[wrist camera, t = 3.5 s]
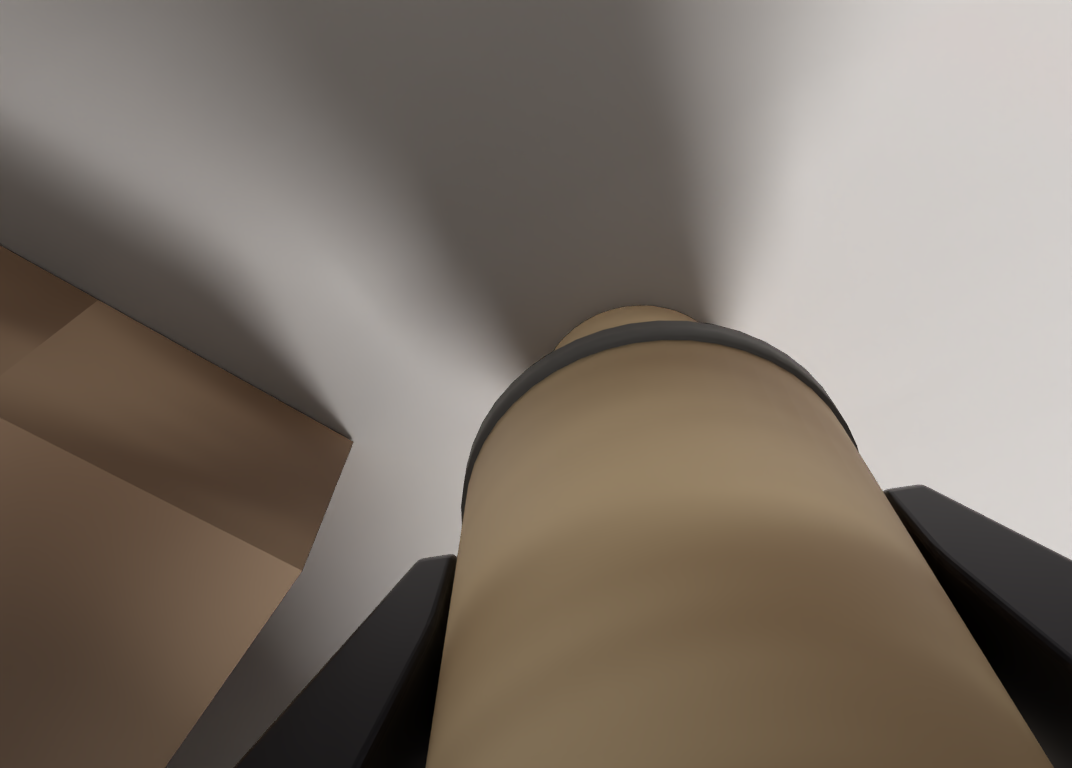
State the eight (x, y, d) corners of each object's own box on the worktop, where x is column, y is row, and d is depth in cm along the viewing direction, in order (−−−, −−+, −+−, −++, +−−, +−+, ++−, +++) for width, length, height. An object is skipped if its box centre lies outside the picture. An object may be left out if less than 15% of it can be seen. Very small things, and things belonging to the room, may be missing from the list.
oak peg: (862, 360, 12) (1491, 1172, 4) (664, 570, 14) (827, 1442, 6) (601, 178, 11) (749, 793, 3) (421, 431, 13) (202, 1262, 5)
